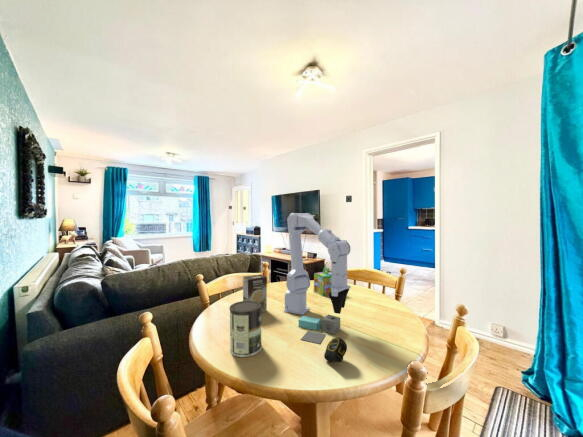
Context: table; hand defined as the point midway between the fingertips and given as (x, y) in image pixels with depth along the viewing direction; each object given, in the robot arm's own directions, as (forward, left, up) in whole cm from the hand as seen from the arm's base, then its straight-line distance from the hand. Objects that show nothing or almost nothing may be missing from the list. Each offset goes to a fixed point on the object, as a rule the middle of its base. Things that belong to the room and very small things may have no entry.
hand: (339, 310), depth 91 cm
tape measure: (+3, -19, -9) cm, 21 cm away
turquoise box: (-12, 0, -8) cm, 14 cm away
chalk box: (-18, +40, -9) cm, 45 cm away
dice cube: (-3, 0, -9) cm, 9 cm away
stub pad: (-8, -7, -8) cm, 14 cm away
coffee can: (-26, -23, -9) cm, 35 cm away
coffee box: (-40, +4, -9) cm, 41 cm away
